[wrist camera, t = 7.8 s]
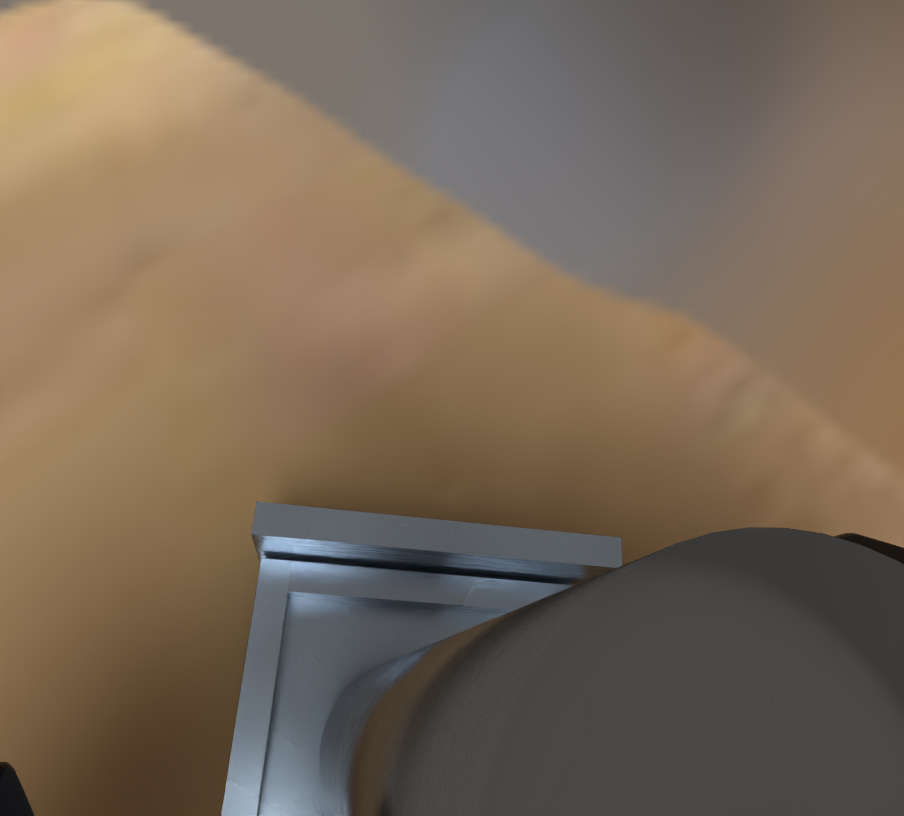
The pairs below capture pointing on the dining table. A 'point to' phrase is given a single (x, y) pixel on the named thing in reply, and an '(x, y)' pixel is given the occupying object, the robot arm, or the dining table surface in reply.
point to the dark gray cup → (649, 694)
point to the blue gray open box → (367, 622)
